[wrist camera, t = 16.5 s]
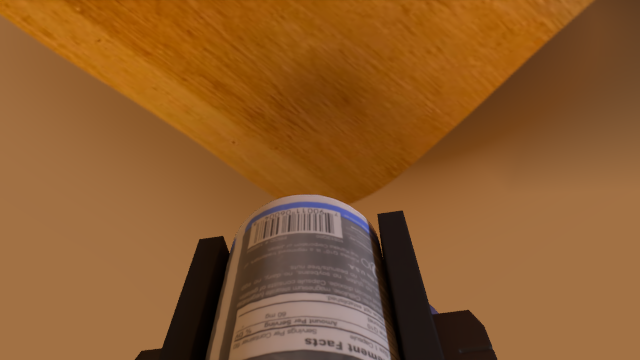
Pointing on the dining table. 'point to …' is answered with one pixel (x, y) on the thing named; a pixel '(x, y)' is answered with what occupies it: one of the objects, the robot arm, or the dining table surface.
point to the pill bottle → (305, 287)
